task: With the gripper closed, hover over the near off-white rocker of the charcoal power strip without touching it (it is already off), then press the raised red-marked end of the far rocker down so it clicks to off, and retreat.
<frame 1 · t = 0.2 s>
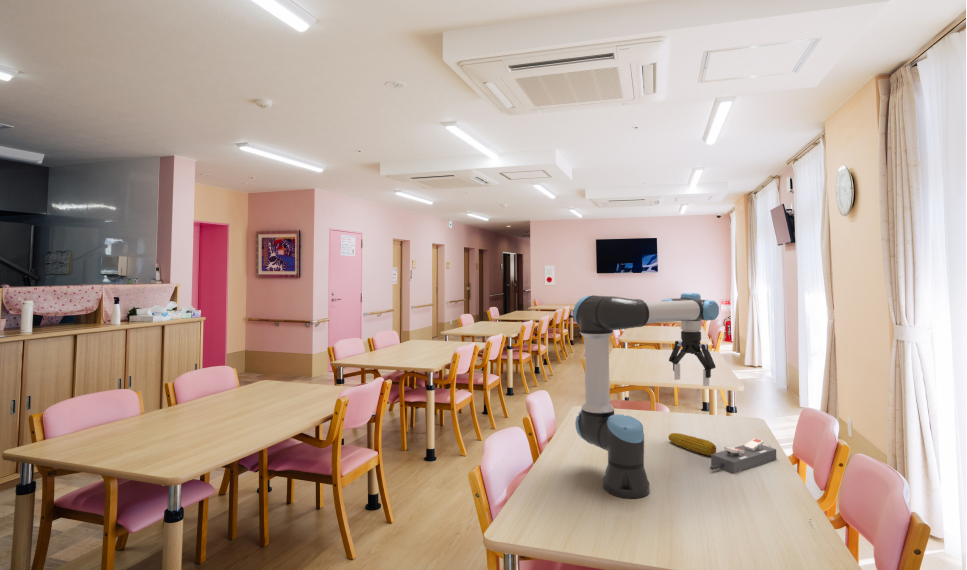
hand: (691, 382, 193), 28 cm above the table, fingers open, 13 cm apart
power strip: (744, 462, 180), on the table
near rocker: (734, 450, 177), point 6 cm above the table, hinge at 14.0°
far rocker: (753, 444, 182), point 6 cm above the table, hinge at -14.0°
food: (690, 450, 194), on the table
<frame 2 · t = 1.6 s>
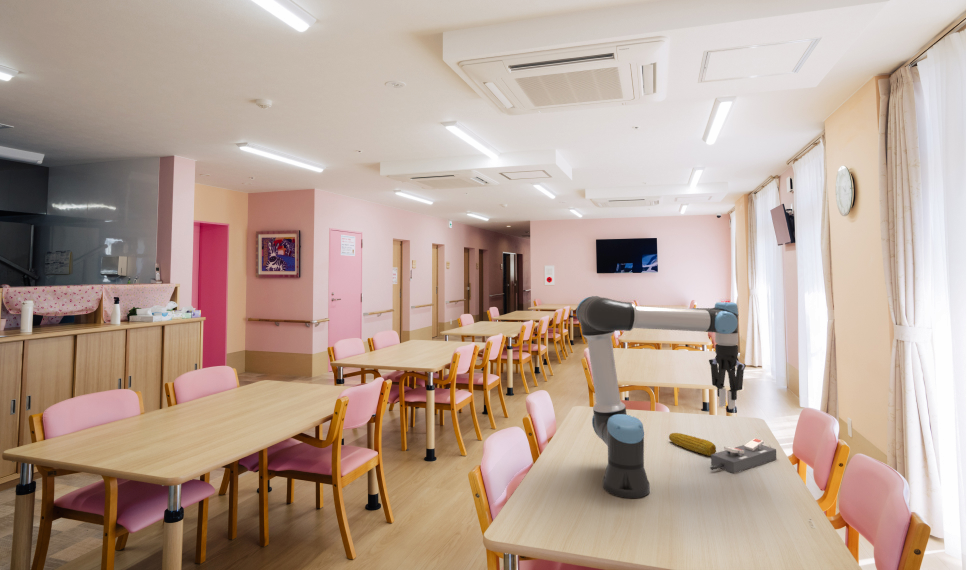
hand: (727, 407, 175), 23 cm above the table, fingers open, 3 cm apart
nothing on the table moved.
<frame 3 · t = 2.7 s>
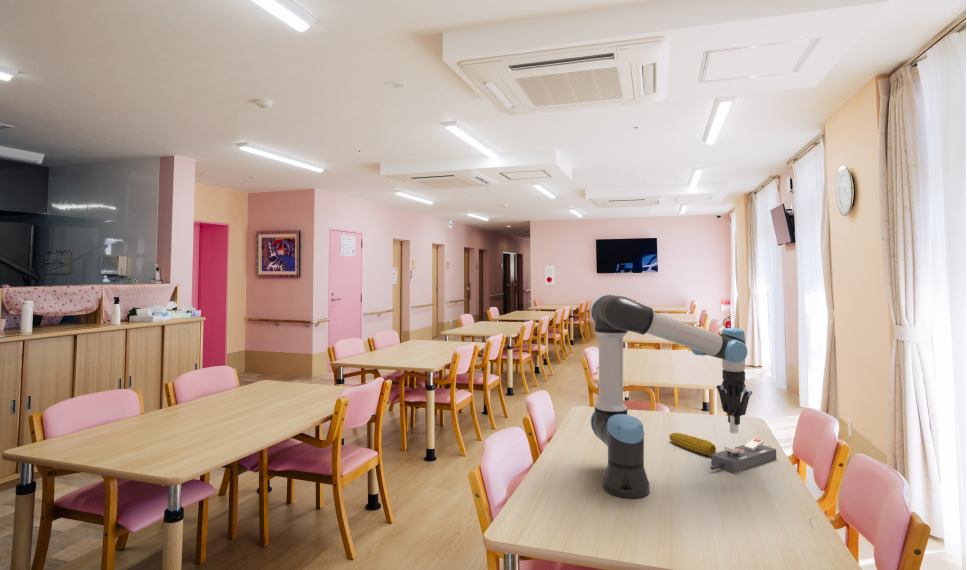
hand: (734, 432, 177), 12 cm above the table, fingers closed
nothing on the table moved.
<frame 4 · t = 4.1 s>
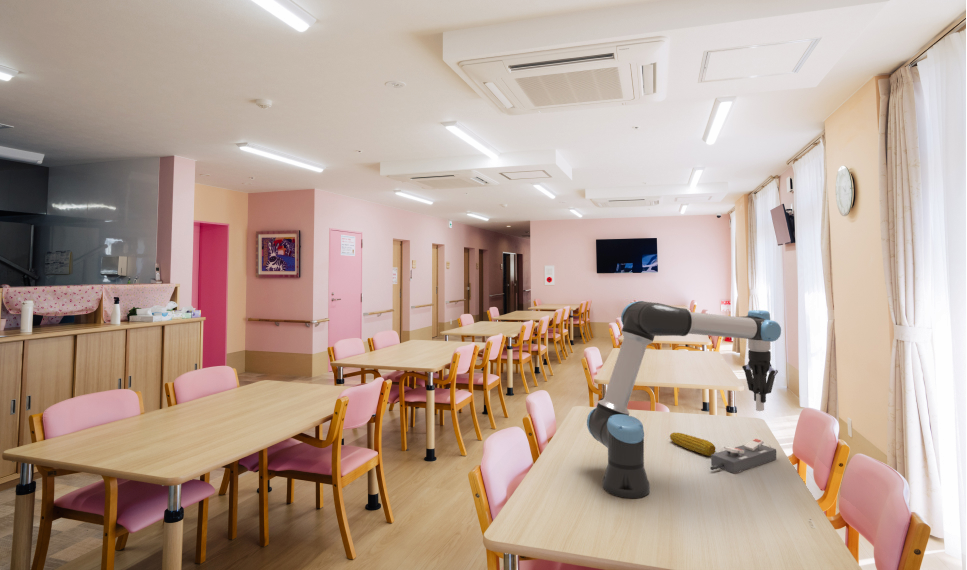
hand: (760, 410, 184), 18 cm above the table, fingers closed
nothing on the table moved.
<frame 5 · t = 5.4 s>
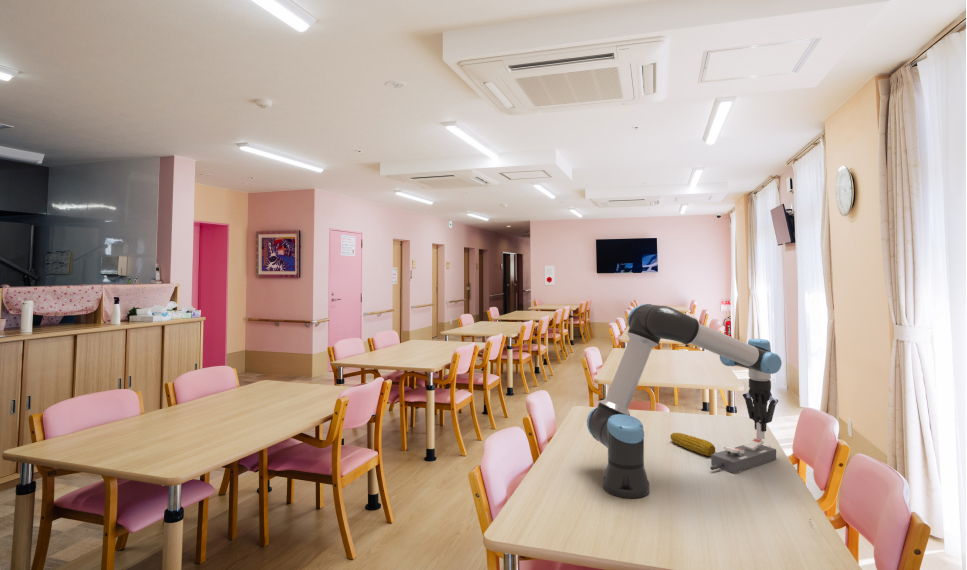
hand: (760, 438, 184), 7 cm above the table, fingers closed
far rocker: (753, 444, 182), point 6 cm above the table, hinge at -13.8°, touching gripper
everything else where it was.
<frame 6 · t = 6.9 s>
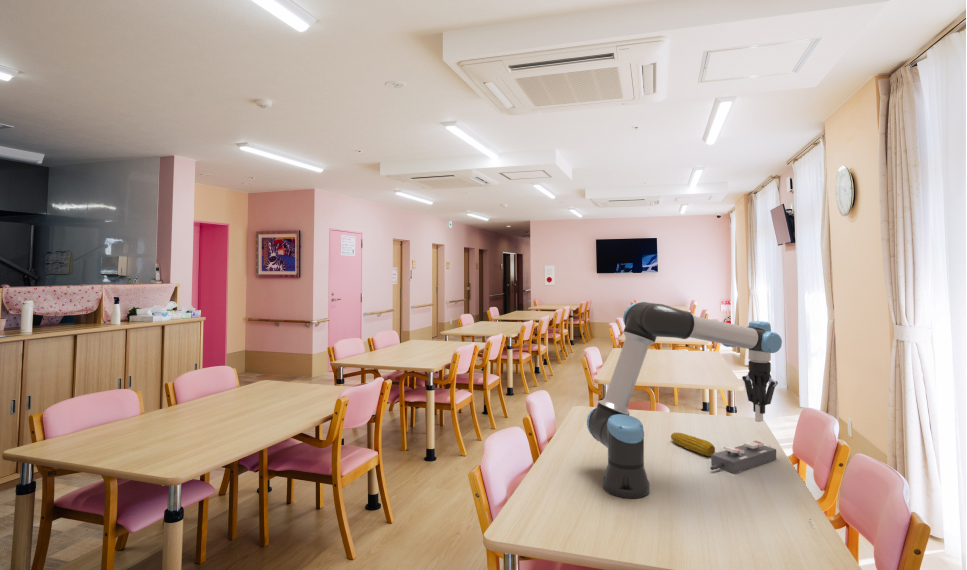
hand: (759, 421, 184), 14 cm above the table, fingers closed
far rocker: (753, 444, 182), point 6 cm above the table, hinge at 1.6°
everything else where it was.
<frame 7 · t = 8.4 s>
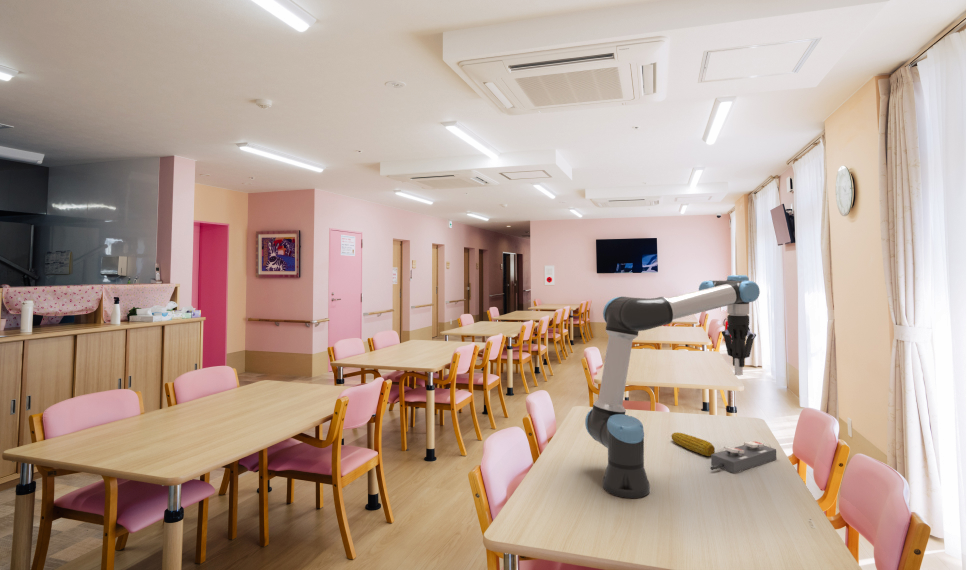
hand: (738, 374, 184), 32 cm above the table, fingers closed
far rocker: (753, 444, 182), point 6 cm above the table, hinge at 6.5°
everything else where it was.
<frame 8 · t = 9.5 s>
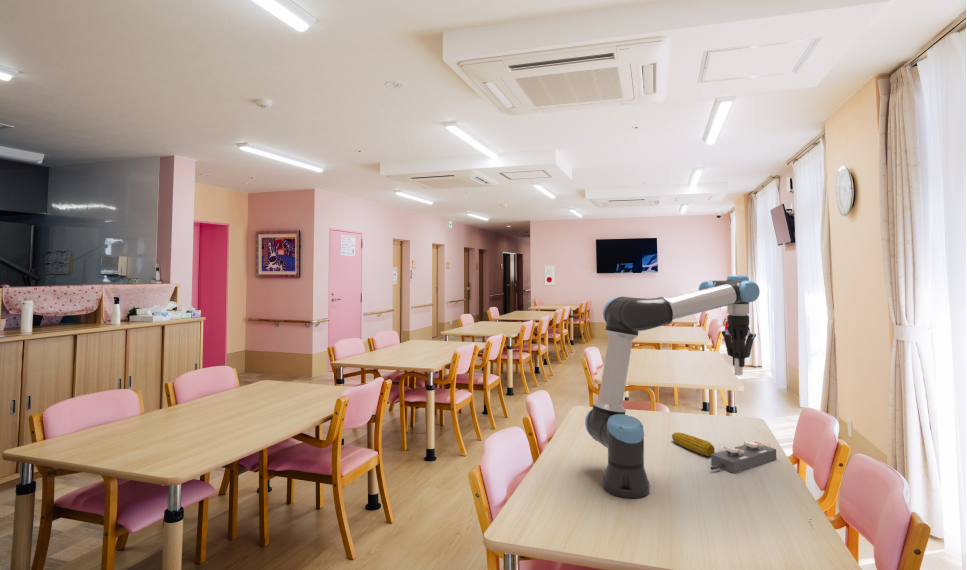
hand: (738, 374, 184), 32 cm above the table, fingers closed
far rocker: (753, 444, 182), point 6 cm above the table, hinge at 8.3°
at the end: far rocker at +8° (first picture: -14°); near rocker at +14° (first picture: +14°) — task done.
